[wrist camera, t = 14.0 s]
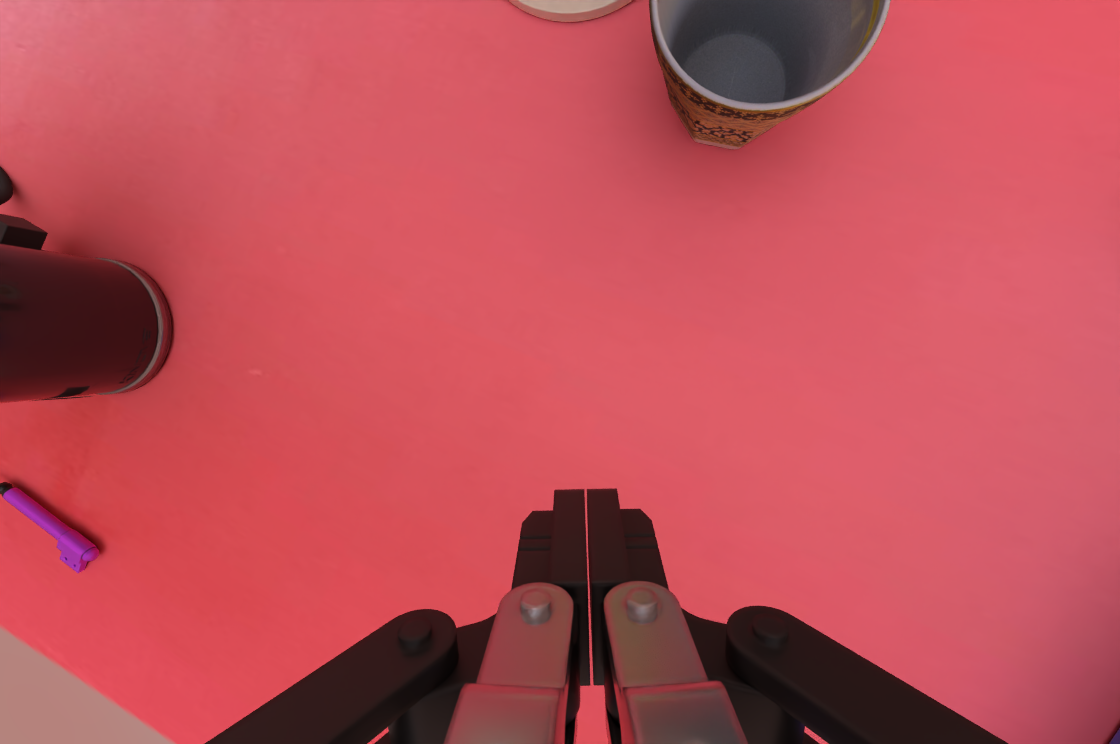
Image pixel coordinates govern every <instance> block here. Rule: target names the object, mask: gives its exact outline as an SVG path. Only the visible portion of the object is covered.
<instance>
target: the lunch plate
mask: <svg viewBox="0 0 1120 744" xmlns="http://www.w3.org/2000/svg"><path fill="white" fill-rule="evenodd" d="M508 1H510V2H511V3H512V4H513V5H515V6H516V7H518V8H520V9H521V10H523V11H525V12H527V13H529V14H532V15H534V16H536V17H539V18H543V19H547V20H551V21H560V22H579V21H585V20H591V19H595V18H598V17H601V16H605V15H607V14H609V13H611V12H614V11H616V10H618V9H620V8H621V7H623V6H625V5H626V4H628V3H630V2H631V1H632V0H508Z"/></svg>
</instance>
